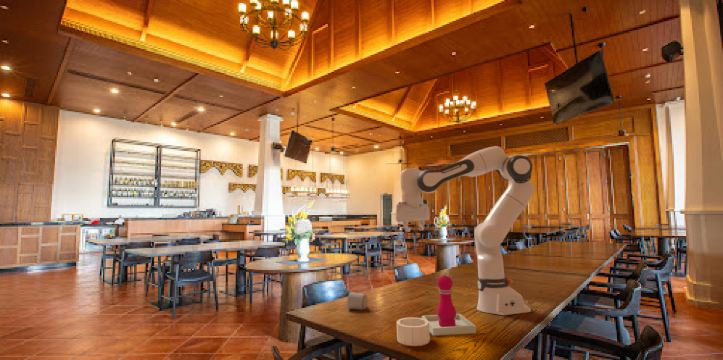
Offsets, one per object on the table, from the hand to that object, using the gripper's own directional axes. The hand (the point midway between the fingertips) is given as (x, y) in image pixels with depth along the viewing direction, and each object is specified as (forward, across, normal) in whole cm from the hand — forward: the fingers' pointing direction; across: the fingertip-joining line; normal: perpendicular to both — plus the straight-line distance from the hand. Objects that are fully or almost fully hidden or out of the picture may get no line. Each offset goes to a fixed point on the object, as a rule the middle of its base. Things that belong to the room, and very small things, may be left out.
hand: (414, 231), depth 160 cm
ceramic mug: (+34, -18, +24) cm, 46 cm away
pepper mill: (+36, -11, -22) cm, 44 cm away
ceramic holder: (+37, -31, -22) cm, 52 cm away
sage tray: (+37, -11, -22) cm, 44 cm away
